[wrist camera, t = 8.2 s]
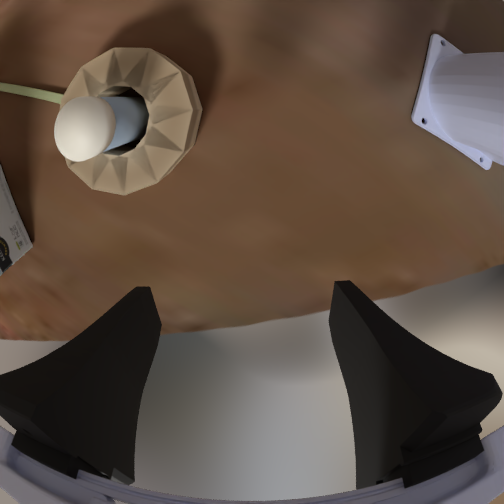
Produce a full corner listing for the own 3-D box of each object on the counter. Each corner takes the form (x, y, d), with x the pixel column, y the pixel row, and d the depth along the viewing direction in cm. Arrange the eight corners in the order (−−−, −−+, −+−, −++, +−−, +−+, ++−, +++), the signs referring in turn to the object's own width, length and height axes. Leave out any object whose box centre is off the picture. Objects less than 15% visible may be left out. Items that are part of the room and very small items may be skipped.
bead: (215, 62, 14) (207, 53, 12) (185, 190, 19) (174, 206, 16) (94, 54, 13) (71, 50, 11) (77, 170, 18) (54, 182, 15)
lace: (79, 98, 15) (76, 98, 14) (76, 106, 15) (73, 107, 15) (-15, 80, 12) (-17, 81, 12) (-16, 87, 12) (-19, 87, 12)
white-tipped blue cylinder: (152, 142, 17) (102, 164, 11) (113, 138, 17) (52, 159, 10) (159, 98, 15) (110, 96, 9) (118, 95, 15) (57, 97, 9)
